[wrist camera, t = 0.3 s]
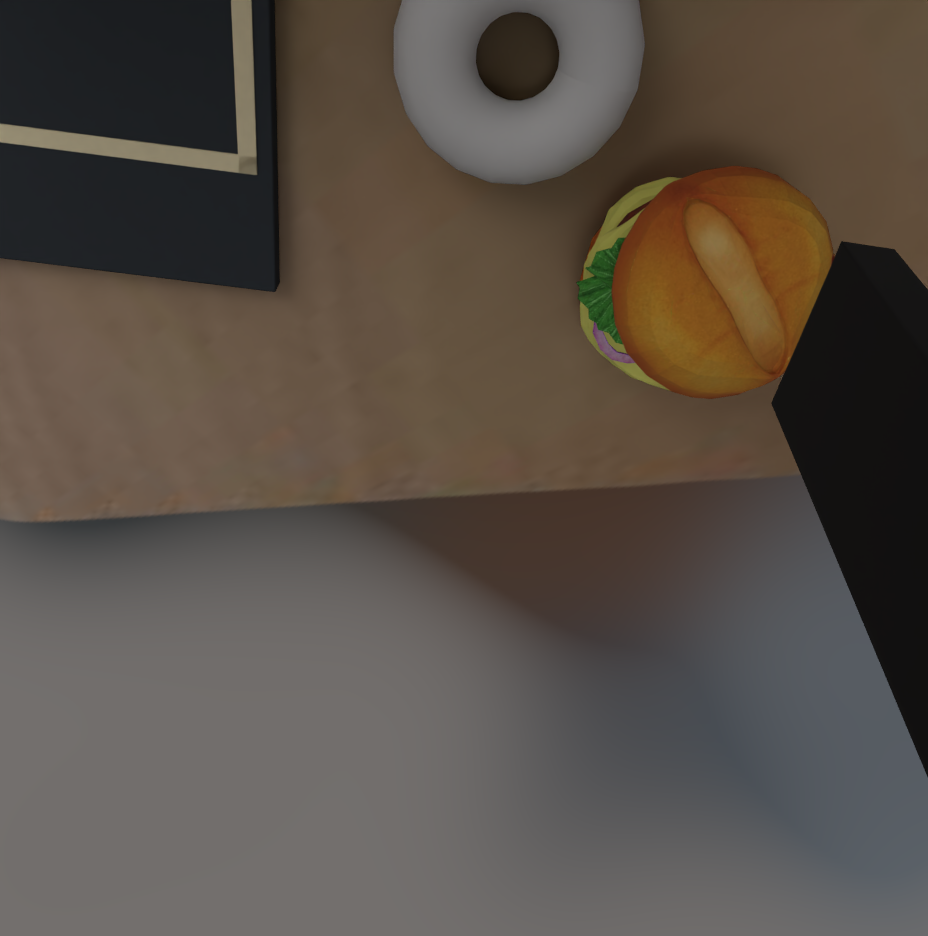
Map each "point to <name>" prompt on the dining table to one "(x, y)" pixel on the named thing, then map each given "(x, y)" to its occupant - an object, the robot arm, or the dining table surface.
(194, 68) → the placemat
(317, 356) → the dining table surface
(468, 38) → the donut
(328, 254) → the dining table surface
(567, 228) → the dining table surface
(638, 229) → the cheeseburger
